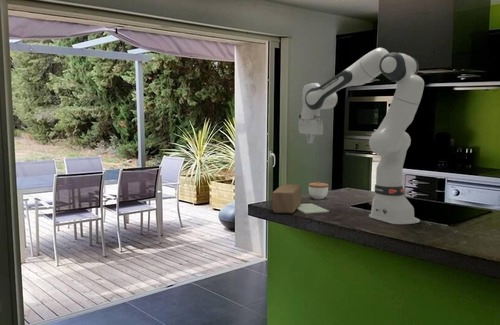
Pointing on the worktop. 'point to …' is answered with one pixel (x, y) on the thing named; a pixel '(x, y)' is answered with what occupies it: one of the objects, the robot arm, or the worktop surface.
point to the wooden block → (286, 198)
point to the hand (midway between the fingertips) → (310, 143)
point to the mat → (310, 208)
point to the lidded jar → (318, 190)
